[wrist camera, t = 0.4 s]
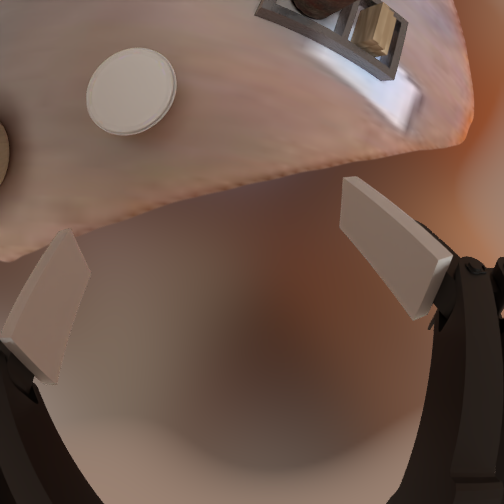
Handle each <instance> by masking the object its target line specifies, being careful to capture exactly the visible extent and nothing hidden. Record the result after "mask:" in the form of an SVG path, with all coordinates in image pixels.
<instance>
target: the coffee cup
mask: <svg viewBox="0 0 504 504" xmlns="http://www.w3.org/2000/svg"><path fill="white" fill-rule="evenodd" d="M176 89H177V80H176V75H175V71H174V69H173V67H172V65H171V64H170V62H169V61H168V60H167V59H166V58H165V57H164V56H163V55H161V54H160V53H158V52H156V51H154V50H151V49H147V48H129V49H125V50H122V51H119V52H117V53H115V54H113V55H112V56H110V57H109V58H107V59H106V60H105V61H104V62H102V64H101V65H100V66H99V67H98V68H97V69H96V71H95V72H94V74H93V75H92V77H91V79H90V81H89V84H88V87H87V92H86V105H87V109H88V112H89V115H90V117H91V119H92V120H93V121H94V123H95V124H96V125H97V126H98V127H100V128H101V129H103V130H104V131H106V132H108V133H111V134H115V135H122V136H127V135H134V134H138V133H141V132H143V131H146V130H148V129H149V128H151V127H153V126H154V125H156V124H157V123H158V122H159V121H160V120H161V119H162V118H163V117H164V116H165V115H166V113H167V112H168V111H169V109H170V107H171V105H172V103H173V101H174V98H175V95H176Z"/></svg>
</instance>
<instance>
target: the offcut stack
mask: <svg viewBox="0 0 504 504" xmlns="http://www.w3.org/2000/svg"><path fill="white" fill-rule="evenodd" d="M393 15H394V12H393V11H391V10H390V9H389V6H387V5H386V4H385V3H384V2H382V3H379V4H377V5H374V6H371V7H369V8H366V9H363V10H361V11H360V14H359V17H358V20H357V23H356V26H355V29H354V33H353V36H352V39H351V42H352V43H353V44H355V45H357V46H358V47H360V48H361V49H363V50H364V51H366V52H367V53H369V54H370V55H372V56H373V57H378V56H385V55H387V54H388V50H389V46H390V42H391V39H392V35H393V31H394V27H395V23H396V18H395V17H394V16H393Z"/></svg>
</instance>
